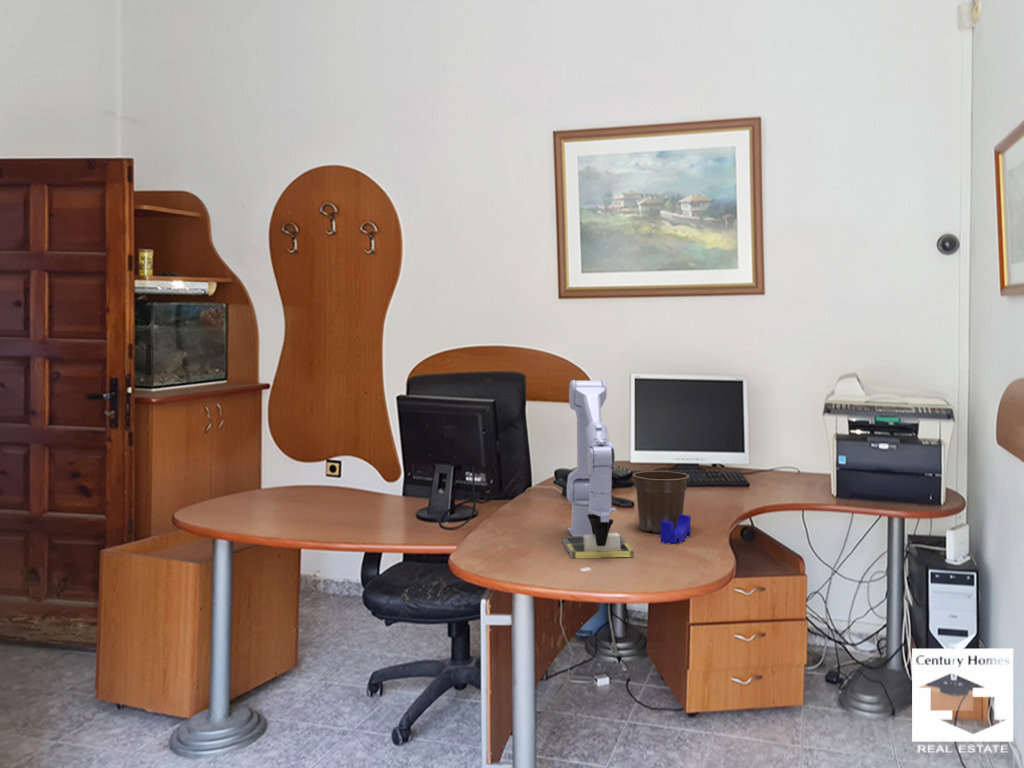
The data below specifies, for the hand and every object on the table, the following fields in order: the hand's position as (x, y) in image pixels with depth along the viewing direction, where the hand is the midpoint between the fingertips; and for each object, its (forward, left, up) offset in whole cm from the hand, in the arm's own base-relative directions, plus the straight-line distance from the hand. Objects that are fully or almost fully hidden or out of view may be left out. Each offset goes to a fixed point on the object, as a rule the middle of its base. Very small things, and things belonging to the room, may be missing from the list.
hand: (599, 543), depth 230 cm
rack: (-4, 0, -3) cm, 5 cm away
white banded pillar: (0, +1, -2) cm, 2 cm away
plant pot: (-27, +23, -3) cm, 35 cm away
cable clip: (-14, +25, -3) cm, 29 cm away
